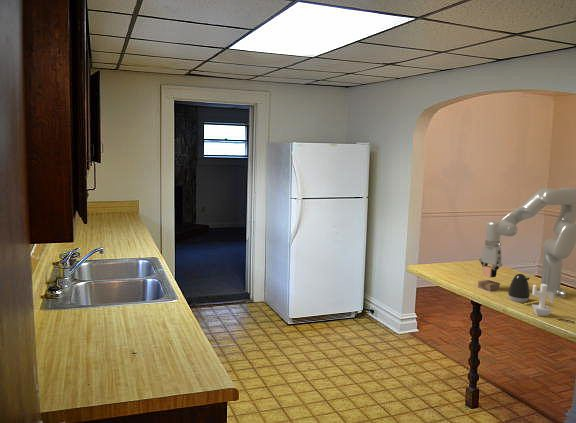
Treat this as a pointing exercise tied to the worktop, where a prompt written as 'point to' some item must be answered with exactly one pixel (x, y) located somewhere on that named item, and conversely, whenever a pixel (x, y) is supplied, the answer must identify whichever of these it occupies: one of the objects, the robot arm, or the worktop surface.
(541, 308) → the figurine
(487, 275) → the top cube
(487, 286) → the base block
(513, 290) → the black penguin toy
